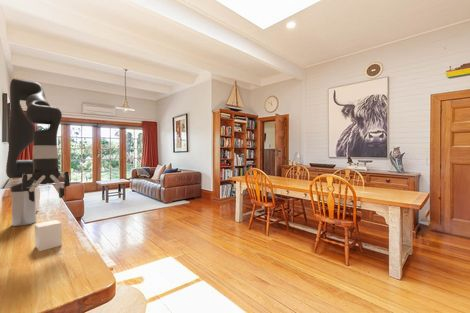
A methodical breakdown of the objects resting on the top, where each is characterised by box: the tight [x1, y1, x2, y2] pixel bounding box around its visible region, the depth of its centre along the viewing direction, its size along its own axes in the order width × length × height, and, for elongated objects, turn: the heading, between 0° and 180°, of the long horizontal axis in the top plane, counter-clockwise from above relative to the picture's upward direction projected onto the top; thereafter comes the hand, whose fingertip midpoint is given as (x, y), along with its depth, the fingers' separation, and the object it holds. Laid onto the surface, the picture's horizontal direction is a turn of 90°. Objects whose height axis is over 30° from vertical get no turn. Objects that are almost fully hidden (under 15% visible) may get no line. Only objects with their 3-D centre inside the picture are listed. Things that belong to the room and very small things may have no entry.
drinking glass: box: [35, 186, 41, 213], centre depth 146 cm, size 7×7×15 cm
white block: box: [34, 219, 63, 252], centre depth 89 cm, size 7×7×9 cm
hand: (47, 199), depth 89 cm, fingers open, 8 cm apart
